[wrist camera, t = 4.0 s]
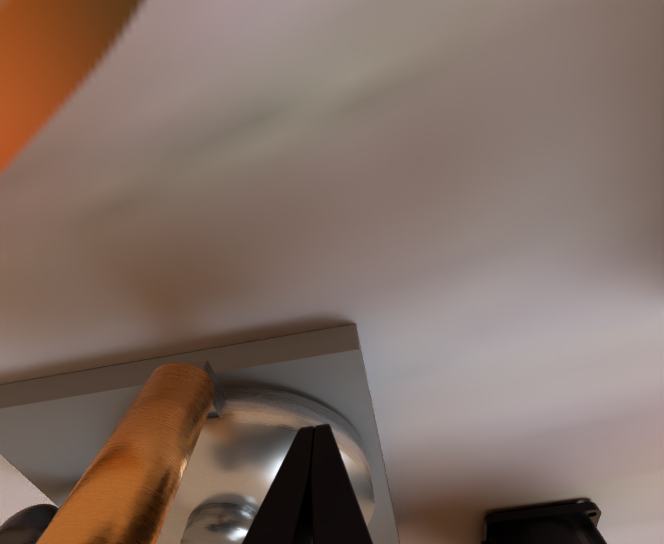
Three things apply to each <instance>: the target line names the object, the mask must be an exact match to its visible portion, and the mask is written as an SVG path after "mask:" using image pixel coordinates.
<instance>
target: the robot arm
mask: <svg viewBox="0 0 664 544" xmlns="http://www.w3.org/2000/svg"><path fill="white" fill-rule="evenodd" d="M600 515H601V511H600V509H599V508H598V507H597V505H596V504H595V503H593V502H586V503H577V504H569V505H561V506H553V507H544V508H536V509H528V510H520V511H511V512H503V513H495V514H489V515H487V516H486V517H484V525H483V541H482V542H481V544H607V543H606V541H605V540H604V538H603V537H602V535H601V534H600V532H599V531H598V529H597V528H596V527H597V524H598V521H599V518H600ZM242 544H373V541H372V538H371V536H370V533H369V530H368V527H367V525H366V522H365V519H364V516H363V514H362V511H361V508H360V505H359V503H358V500H357V497H356V494H355V492H354V489H353V486H352V483H351V481H350V478H349V475H348V472H347V470H346V467H345V464H344V461H343V459H342V456H341V453H340V451H339V448H338V445H337V442H336V440H335V437H334V434H333V431H332V429H331V426H330V424H321V425H317V426H315V427H314V426H308V427H302V428H300V429H299V430H298V432H297V434H296V436H295V438H294V440H293V442H292V444H291V446H290V448H289V450H288V452H287V454H286V456H285V458H284V460H283V462H282V464H281V466H280V468H279V470H278V472H277V474H276V476H275V478H274V480H273V482H272V484H271V486H270V488H269V490H268V492H267V494H266V496H265V498H264V500H263V502H262V504H261V506H260V508H259V510H258V512H257V514H256V516H255V518H254V520H253V522H252V524H251V526H250V528H249V530H248V532H247V534H246V536H245V538H244V540H243V542H242Z"/></svg>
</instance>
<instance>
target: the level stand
mask: <svg viewBox="0 0 664 544" xmlns="http://www.w3.org/2000/svg"><path fill="white" fill-rule="evenodd" d="M203 360H208V361H209V363H210V365H211V367H212V369H213V371H214V373H215V375H216V377H217V379H218V381H219V383H220V385H221V387H222V389H223V388H238V387H251V388H264V389H272V390H277V391H283V392H287V393H291V394H295V395H298V396H302V397H304V398H307V399H310V400H312V401H315V402H317V403H319V404H321V405H323V406H325V407H327V408H329V409H331V410H332V411H334V412H335V413H337V414H338V415H340V416H341V417H343V418H344V419H345V420H346V421H347V422H348V423H349V424H350V425H352V426H353V428H354V429H355V430H356V431H357V432H358V434H359V435H360V436H361V438H362V440H363V441H364V443H365V445H366V448H367V451H368V454H369V461H370V468H371V477H372V485H373V493H374V501H375V504H374V512H373V514H372V517H371V520H370V522H369V523H368V525H367V527H368V530H369V533H370V536H371V538H372V541H373V544H400V541H399V536H398V530H397V524H396V520H395V515H394V510H393V505H392V500H391V495H390V490H389V485H388V480H387V475H386V470H385V465H384V460H383V455H382V451H381V446H380V441H379V436H378V431H377V426H376V421H375V416H374V411H373V406H372V401H371V396H370V391H369V387H368V382H367V377H366V372H365V367H364V362H363V357H362V352H361V347H360V342H359V337H358V332H357V327H356V324H352V325H346V326H340V327H334V328H328V329H322V330H317V331H311V332H305V333H299V334H293V335H288V336H282V337H276V338H270V339H264V340H259V341H253V342H247V343H241V344H235V345H230V346H224V347H218V348H212V349H206V350H201V351H195V352H189V353H183V354H177V355H172V356H166V357H160V358H154V359H148V360H143V361H137V362H131V363H125V364H119V365H113V366H108V367H102V368H96V369H90V370H84V371H79V372H73V373H67V374H61V375H55V376H50V377H44V378H38V379H32V380H26V381H21V382H15V383H9V384H3V385H0V454H1V455H2V456H3V457H4V458H5V459H6V460H8V461H9V462H10V463H11V464H12V465H13V466H14V467H15V468H16V469H17V470H19V471H20V472H21V473H22V474H23V475H24V476H25V477H26V478H27V479H28V480H29V481H31V482H32V483H33V484H34V485H35V486H36V487H37V488H38V489H39V490H40V491H41V492H43V493H44V494H45V495H46V496H47V497H48V498H49V499H50V500H51V501H52V502H54V503H55V504H56V505H57V506H58V507H59V508H60V507H61V505H62V504H63V502H64V501H65V500H66V499H67V497H68V496H69V494H70V493H71V492H72V490H73V489H74V487H75V486H76V484H77V483H78V481H79V480H80V478H81V477H82V475H83V474H84V472H85V471H86V469H87V468H88V467H89V465H90V464H91V462H92V461H93V459H94V458H95V456H96V455H97V453H98V452H99V450H100V449H101V447H102V446H103V445H104V443H105V442H106V440H107V439H108V437H109V436H110V434H111V433H112V431H113V430H114V428H115V427H116V425H117V424H118V423H119V421H120V420H121V418H122V417H123V415H124V414H125V412H126V411H127V409H128V408H129V406H130V405H131V403H132V402H133V401H134V399H135V398H136V396H137V395H138V393H139V392H140V390H141V389H142V387H143V386H144V384H145V383H146V381H147V380H148V379H149V377H150V376H151V374H152V373H153V371H154V370H155V369H156V368H158V367H159V366H161V365H164V364H168V363H192V362H197V361H203Z"/></svg>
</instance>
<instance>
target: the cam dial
mask: <svg viewBox="0 0 664 544" xmlns="http://www.w3.org/2000/svg"><path fill="white" fill-rule="evenodd" d="M321 424H330V426H331V429H332V431H333V434H334V437H335V440H336V442H337V445H338V448H339V451H340V453H341V456H342V459H343V461H344V464H345V467H346V470H347V472H348V475H349V478H350V481H351V483H352V486H353V489H354V492H355V494H356V497H357V500H358V503H359V505H360V508H361V511H362V514H363V516H364V519H365V522H366V525H368V523H369V522H370V520H371V517H372V514H373V512H374V504H375V501H374V493H373V485H372V477H371V468H370V461H369V454H368V451H367V448H366V445H365V443H364V441H363V440H362V438H361V436H360V435H359V434H358V432H357V431H356V430H355V429H354V428H353V426H352V425H350V424H349V423H348V422H347V421H346V420H345V419H344V418H343V417H341V416H340V415H338V414H337V413H335V412H334V411H332V410H331V409H329V408H327V407H325V406H323V405H321V404H319V403H317V402H315V401H312V400H310V399H307V398H304V397H302V396H298V395H295V394H291V393H287V392H283V391H277V390H272V389H264V388H251V387H238V388H223V389H222V387H221V385H220V383H219V381H218V379H217V377H216V375H215V373H214V371H213V369H212V367H211V365H210V363H209V361H208V360H203V361H197V362H192V363H168V364H164V365H161V366H159V367H158V368H156V369H155V370H154V371H153V373H152V374H151V376H150V377H149V379H148V380H147V381H146V383H145V384H144V386H143V387H142V389H141V390H140V392H139V393H138V395H137V396H136V398H135V399H134V401H133V402H132V403H131V405H130V406H129V408H128V409H127V411H126V412H125V414H124V415H123V417H122V418H121V420H120V421H119V423H118V424H117V425H116V427H115V428H114V430H113V431H112V433H111V434H110V436H109V437H108V439H107V440H106V442H105V443H104V445H103V446H102V447H101V449H100V450H99V452H98V453H97V455H96V456H95V458H94V459H93V461H92V462H91V464H90V465H89V467H88V468H87V469H86V471H85V472H84V474H83V475H82V477H81V478H80V480H79V481H78V483H77V484H76V486H75V487H74V489H73V490H72V492H71V493H70V494H69V496H68V497H67V499H66V500H65V501H64V502H63V504H62V505H61V507H60V508H57V507H56V506H53V505H50V504H39V505H34V506H30V507H28V508H25V509H23V510H21V511H19V512H17V513H16V514H14V515H13V516H11V517H10V518H9V519H8V520H6V521H5V522H4V523H3V524H2V525H1V526H0V544H242V542H243V540H244V538H245V536H246V534H247V532H248V530H249V528H250V526H251V524H252V522H253V520H254V518H255V516H256V514H257V512H258V510H259V508H260V506H261V504H262V502H263V500H264V498H265V496H266V494H267V492H268V490H269V488H270V486H271V484H272V482H273V480H274V478H275V476H276V474H277V472H278V470H279V468H280V466H281V464H282V462H283V460H284V458H285V456H286V454H287V452H288V450H289V448H290V446H291V444H292V442H293V440H294V438H295V436H296V434H297V432H298V430H299V429H300V428H302V427H308V426H314V427H315V426H317V425H321Z"/></svg>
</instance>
